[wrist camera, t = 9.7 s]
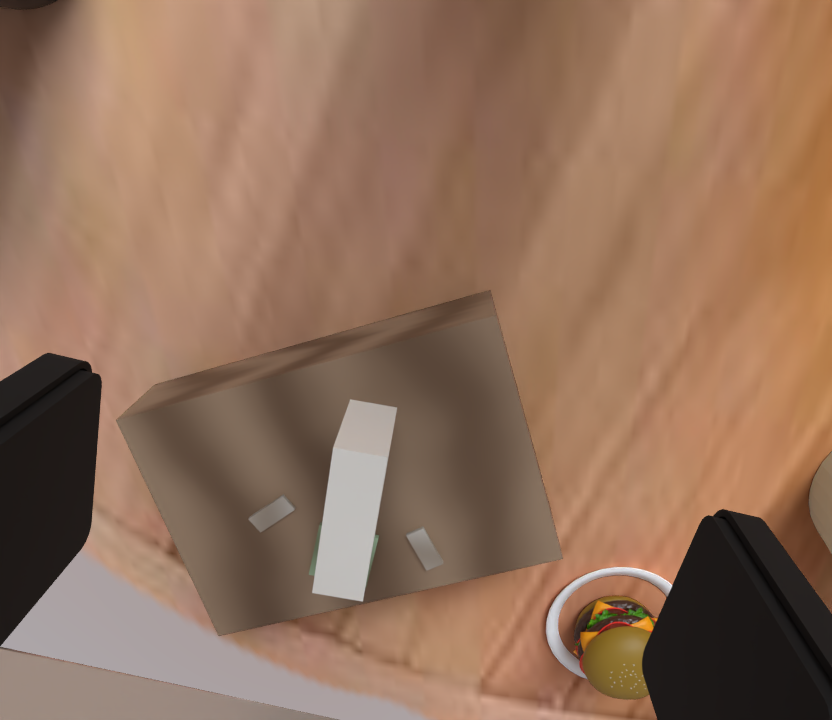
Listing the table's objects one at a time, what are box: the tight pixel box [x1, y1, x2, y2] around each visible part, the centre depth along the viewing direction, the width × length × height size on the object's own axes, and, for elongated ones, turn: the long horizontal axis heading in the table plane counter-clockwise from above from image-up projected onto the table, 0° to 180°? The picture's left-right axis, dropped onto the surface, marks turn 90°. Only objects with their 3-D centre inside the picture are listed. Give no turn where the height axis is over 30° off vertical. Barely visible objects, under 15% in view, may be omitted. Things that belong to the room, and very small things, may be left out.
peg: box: [312, 399, 397, 602], centre depth 33 cm, size 10×2×7 cm, turn 170°
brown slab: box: [116, 290, 563, 636], centre depth 39 cm, size 20×14×5 cm
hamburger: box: [546, 567, 672, 700], centre depth 43 cm, size 12×12×6 cm
